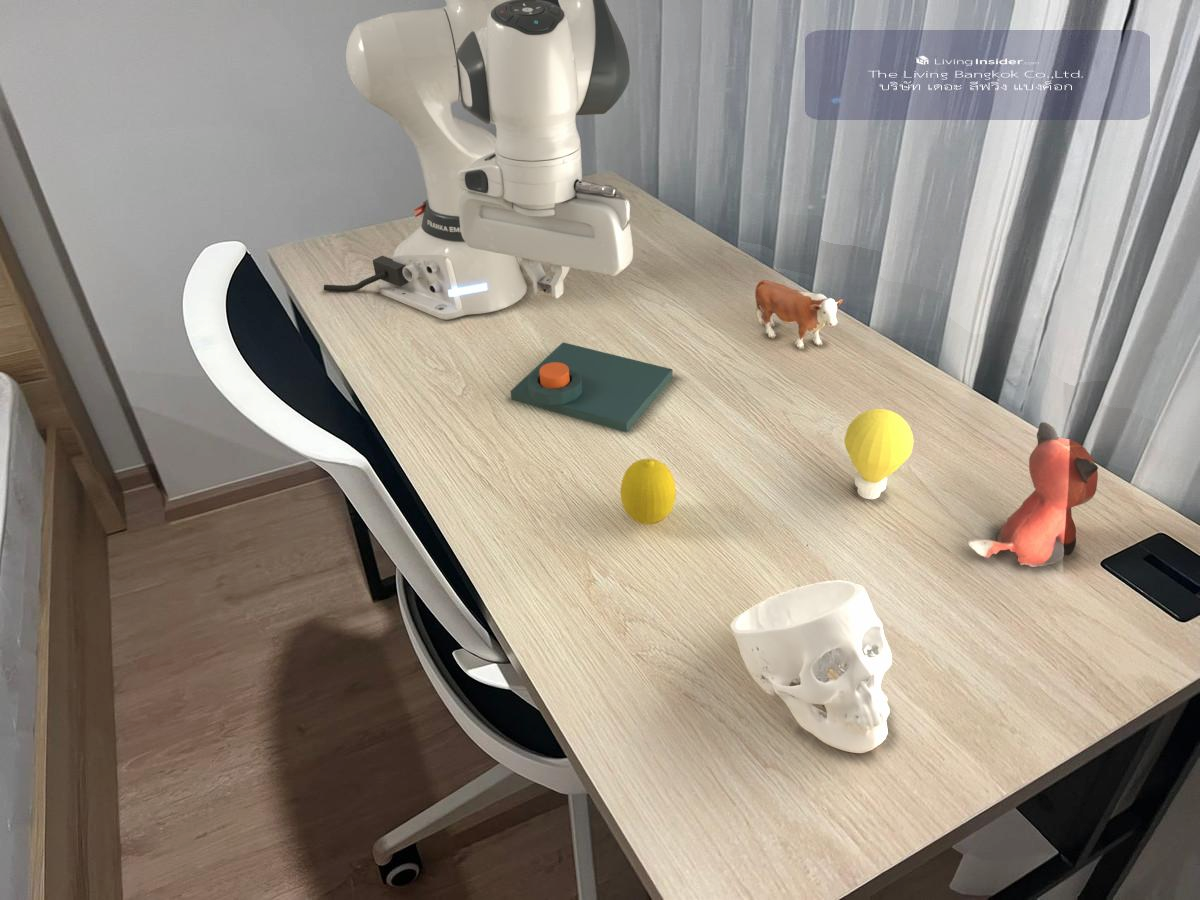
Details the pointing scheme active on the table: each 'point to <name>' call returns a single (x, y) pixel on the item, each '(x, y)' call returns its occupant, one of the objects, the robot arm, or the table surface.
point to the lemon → (648, 491)
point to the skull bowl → (821, 660)
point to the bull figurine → (795, 309)
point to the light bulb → (877, 448)
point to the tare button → (554, 375)
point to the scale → (596, 387)
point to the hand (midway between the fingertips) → (549, 294)
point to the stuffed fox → (1047, 503)
